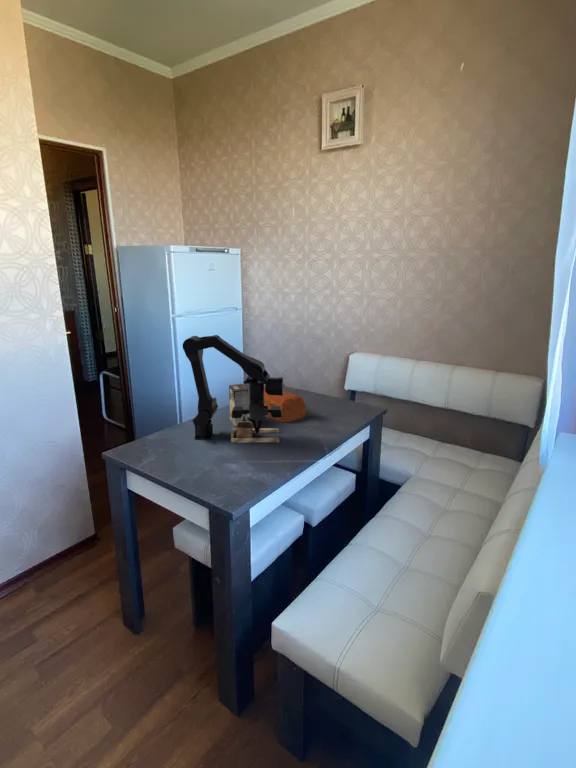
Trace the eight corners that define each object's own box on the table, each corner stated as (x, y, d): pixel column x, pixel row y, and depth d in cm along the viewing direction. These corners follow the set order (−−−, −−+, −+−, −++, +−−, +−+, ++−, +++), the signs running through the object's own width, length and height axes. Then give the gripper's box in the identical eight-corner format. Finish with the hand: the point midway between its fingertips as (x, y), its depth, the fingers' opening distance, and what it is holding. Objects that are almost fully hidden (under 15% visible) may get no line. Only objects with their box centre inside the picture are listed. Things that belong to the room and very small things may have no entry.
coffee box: (229, 420, 184) (228, 384, 179) (243, 418, 186) (242, 383, 182) (234, 427, 176) (233, 390, 171) (249, 425, 178) (248, 389, 173)
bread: (271, 402, 207) (271, 382, 204) (309, 418, 188) (309, 395, 185) (245, 409, 197) (245, 388, 195) (282, 426, 178) (282, 402, 175)
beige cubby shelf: (230, 445, 159) (229, 438, 158) (232, 432, 170) (232, 426, 169) (283, 444, 160) (283, 437, 159) (282, 432, 171) (282, 425, 170)
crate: (236, 440, 161) (235, 428, 159) (237, 433, 168) (236, 421, 166) (251, 440, 161) (251, 428, 160) (252, 433, 168) (252, 421, 166)
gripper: (230, 401, 152) (231, 441, 156) (282, 401, 152) (281, 440, 157) (232, 392, 162) (233, 430, 167) (281, 391, 163) (281, 429, 167)
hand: (257, 432), depth 164 cm, fingers closed
